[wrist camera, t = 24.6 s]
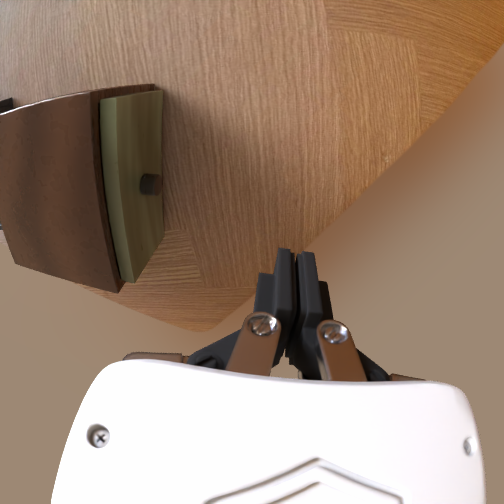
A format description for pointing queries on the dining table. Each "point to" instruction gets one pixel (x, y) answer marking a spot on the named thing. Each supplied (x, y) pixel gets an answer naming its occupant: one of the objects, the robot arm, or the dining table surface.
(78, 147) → the cabinet
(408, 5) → the dining table surface
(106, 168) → the drawer
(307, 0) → the dining table surface
